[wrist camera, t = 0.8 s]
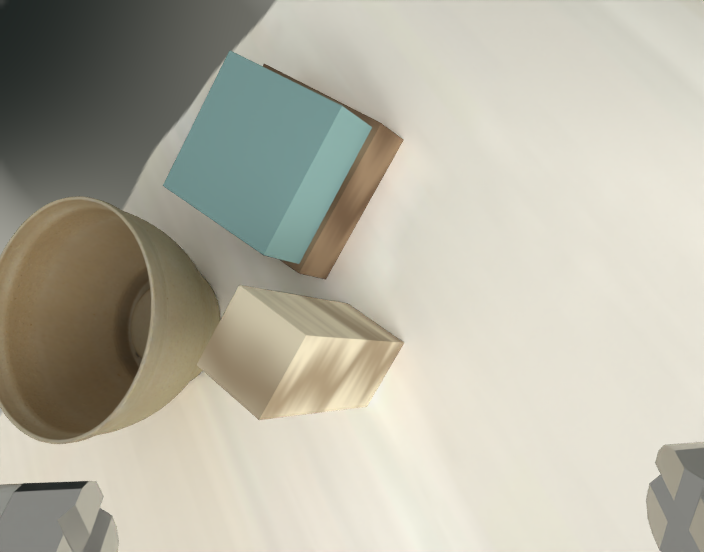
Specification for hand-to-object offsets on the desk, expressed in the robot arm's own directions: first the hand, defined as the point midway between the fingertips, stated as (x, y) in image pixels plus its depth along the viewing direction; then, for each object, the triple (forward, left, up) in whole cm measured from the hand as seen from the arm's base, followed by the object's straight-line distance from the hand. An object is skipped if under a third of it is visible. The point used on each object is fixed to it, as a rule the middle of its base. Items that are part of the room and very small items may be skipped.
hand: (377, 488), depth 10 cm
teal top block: (-2, -25, -27) cm, 37 cm away
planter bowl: (+14, -30, -31) cm, 45 cm away
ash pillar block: (+7, -15, -31) cm, 35 cm away
